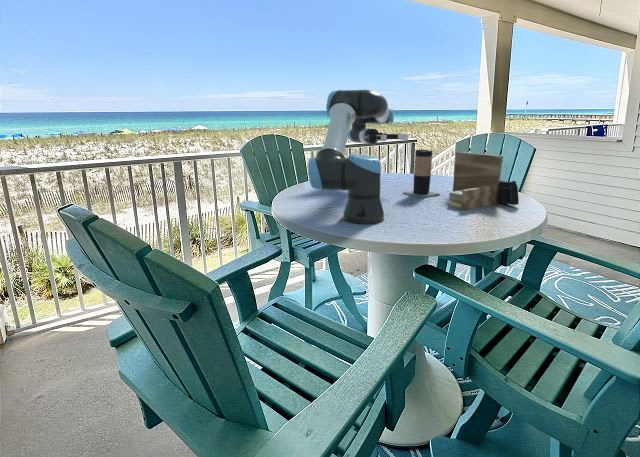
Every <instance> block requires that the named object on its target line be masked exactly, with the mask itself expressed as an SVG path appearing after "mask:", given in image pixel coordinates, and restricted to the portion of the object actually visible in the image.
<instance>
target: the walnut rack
mask: <svg viewBox="0 0 640 457" xmlns="http://www.w3.org/2000/svg"><path fill="white" fill-rule="evenodd" d="M503 157H504V156H503V155H498V154H497V155H495V154H485V153H475V152H465V151H456V154H455V164H454V172H453V173H454V174H453V183H452V184H453V185H452V192H454V191H459V190H463V191H462V200H461V209H460V210H461V211H468V210H469V211H470V210H473V209H477V208H483V207H486V206H487V207H488V206H491V205H492V206H493V205H495V204H496V205H497V203H498V202H497V196H498V189H499V182H500V181H501V174H502V173H501V172H502V165H503ZM469 188H472V189H469ZM464 189H466V190H464Z"/></svg>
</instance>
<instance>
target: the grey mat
mask: <svg viewBox="0 0 640 457" xmlns="http://www.w3.org/2000/svg"><path fill="white" fill-rule="evenodd" d="M402 194H403V195H406V196H411V197H415V198H419V199H424V198H430V197H436V196H440V195H441V193H437V192H433V191H430V190H429V194H425V195H420V194H414V190H411V191H410V190H409V191H403V192H402Z"/></svg>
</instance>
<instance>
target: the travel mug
mask: <svg viewBox="0 0 640 457" xmlns="http://www.w3.org/2000/svg"><path fill="white" fill-rule="evenodd" d="M432 160H433V150H428V149H416V150H415V156H414V169H413V191H414V194H420V195H425V194H429V191H430V188H431V186H430V185H431V178H432V177H431V176H432V175H431V174H432V163H433V162H432Z"/></svg>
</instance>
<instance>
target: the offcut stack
mask: <svg viewBox="0 0 640 457" xmlns="http://www.w3.org/2000/svg"><path fill="white" fill-rule="evenodd" d="M469 189H472V188H469ZM464 190H466V189H464ZM462 191H463V190H459V191H454V192H453V191H450V192H449V195H448V197H449V198H450V201H448V203H447V207H450V208H454V209H455V208H456V209H460V210H461V200H462Z"/></svg>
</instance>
